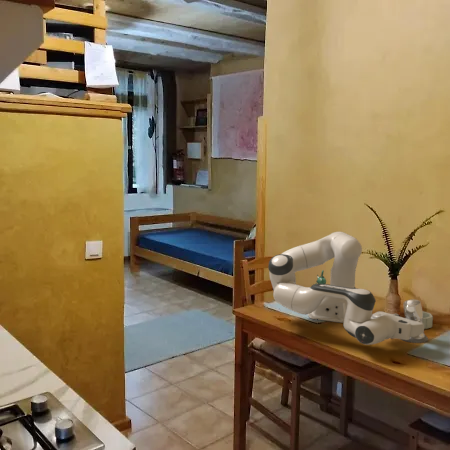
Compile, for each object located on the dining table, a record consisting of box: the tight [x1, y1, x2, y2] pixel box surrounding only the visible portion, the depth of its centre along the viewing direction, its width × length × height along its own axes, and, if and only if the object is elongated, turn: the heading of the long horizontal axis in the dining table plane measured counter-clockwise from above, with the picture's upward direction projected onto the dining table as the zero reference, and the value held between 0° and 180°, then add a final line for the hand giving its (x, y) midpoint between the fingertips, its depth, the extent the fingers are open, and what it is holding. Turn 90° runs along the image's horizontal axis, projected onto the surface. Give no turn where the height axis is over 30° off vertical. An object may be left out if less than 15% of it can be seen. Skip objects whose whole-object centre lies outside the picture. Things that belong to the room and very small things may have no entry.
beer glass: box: [403, 299, 426, 340], centre depth 203 cm, size 7×7×15 cm
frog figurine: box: [315, 269, 327, 284], centre depth 267 cm, size 10×18×15 cm, turn 96°
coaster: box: [400, 334, 429, 344], centre depth 207 cm, size 12×12×1 cm
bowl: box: [422, 310, 434, 330], centre depth 221 cm, size 11×11×5 cm
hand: (407, 318), depth 202 cm, fingers open, 8 cm apart
